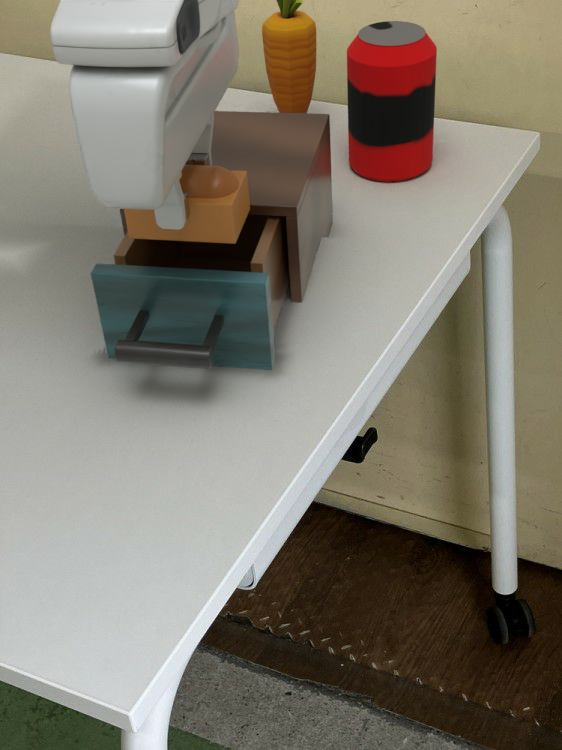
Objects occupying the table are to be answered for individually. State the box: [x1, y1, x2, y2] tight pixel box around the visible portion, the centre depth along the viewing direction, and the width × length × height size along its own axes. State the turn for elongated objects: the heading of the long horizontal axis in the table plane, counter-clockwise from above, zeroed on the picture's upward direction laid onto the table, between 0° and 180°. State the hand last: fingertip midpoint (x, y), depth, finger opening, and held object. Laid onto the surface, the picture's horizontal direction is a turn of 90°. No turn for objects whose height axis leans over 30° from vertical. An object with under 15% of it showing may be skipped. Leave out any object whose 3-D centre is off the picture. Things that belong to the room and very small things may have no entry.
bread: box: [124, 165, 250, 244], centre depth 64 cm, size 7×4×4 cm, turn 79°
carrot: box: [261, 0, 317, 113], centre depth 93 cm, size 5×5×15 cm
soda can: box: [346, 20, 438, 183], centre depth 88 cm, size 8×8×12 cm
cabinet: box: [119, 110, 334, 303], centre depth 77 cm, size 15×13×10 cm
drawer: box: [90, 215, 290, 371], centre depth 69 cm, size 18×11×8 cm, turn 169°
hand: (186, 200), depth 64 cm, fingers closed on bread, 4 cm apart
